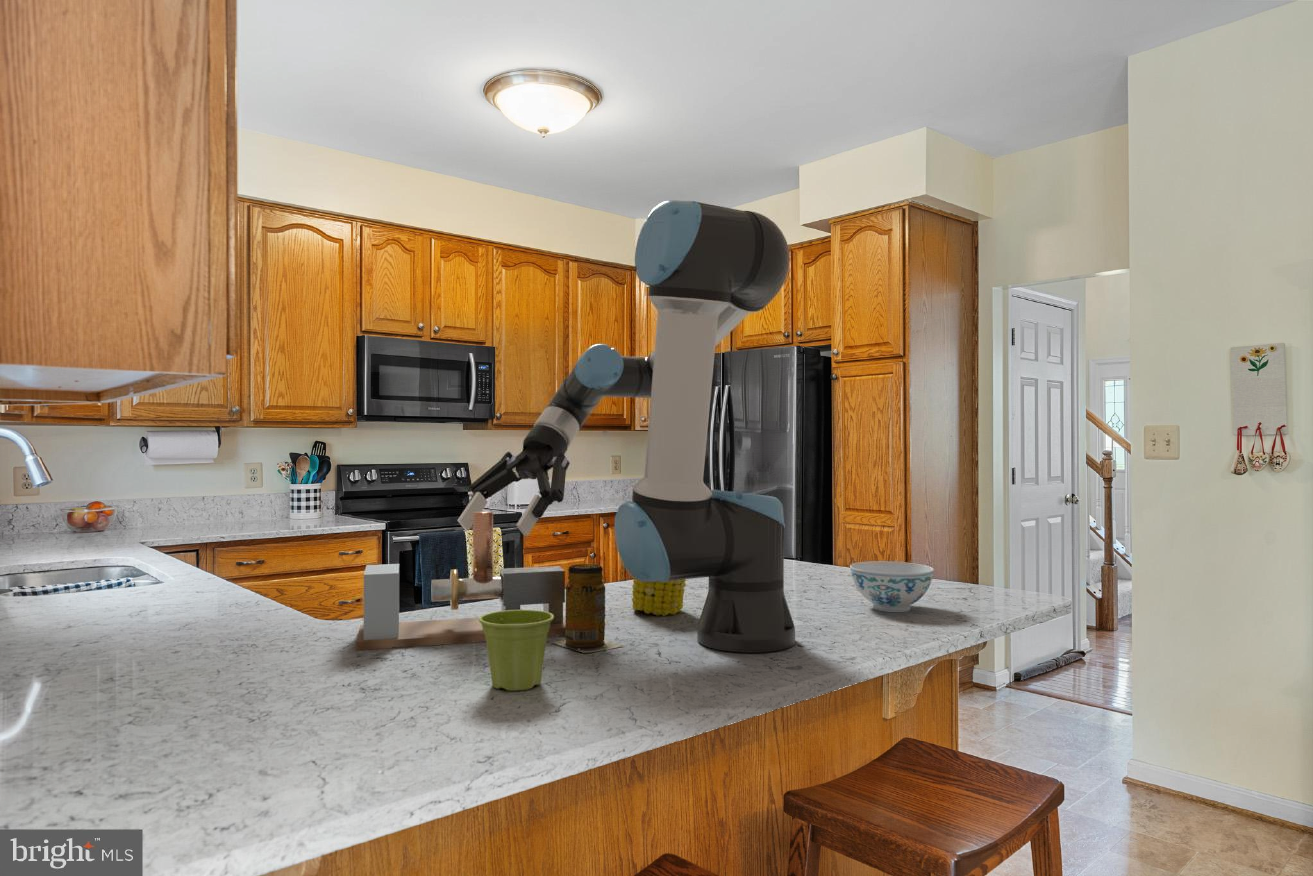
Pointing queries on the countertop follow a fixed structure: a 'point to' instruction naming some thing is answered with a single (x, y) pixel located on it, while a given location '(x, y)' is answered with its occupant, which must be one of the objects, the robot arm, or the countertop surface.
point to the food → (658, 596)
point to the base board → (437, 633)
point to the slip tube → (483, 578)
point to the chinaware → (891, 583)
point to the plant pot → (516, 646)
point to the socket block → (381, 601)
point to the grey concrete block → (534, 589)
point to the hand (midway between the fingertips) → (491, 528)
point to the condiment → (585, 610)
